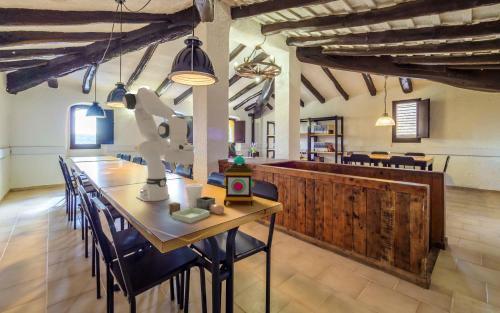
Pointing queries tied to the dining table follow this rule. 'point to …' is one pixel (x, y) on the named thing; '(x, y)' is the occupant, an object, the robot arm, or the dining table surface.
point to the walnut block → (174, 207)
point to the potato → (216, 209)
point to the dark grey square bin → (205, 203)
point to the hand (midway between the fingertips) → (178, 171)
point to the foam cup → (193, 193)
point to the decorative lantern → (238, 182)
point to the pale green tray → (190, 214)
